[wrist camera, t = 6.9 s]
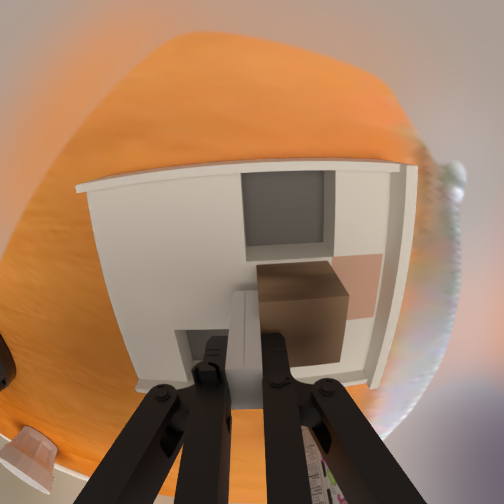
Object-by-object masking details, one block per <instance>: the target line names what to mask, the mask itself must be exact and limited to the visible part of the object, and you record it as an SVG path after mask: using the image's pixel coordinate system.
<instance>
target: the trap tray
mask: <svg viewBox="0 0 504 504" xmlns="http://www.w3.org/2000/svg"><path fill="white" fill-rule="evenodd" d="M417 178H418V166H415V165H410V164H405V163H399V162H393V161H387V160H380V159H359V158H274V159H252V160H235V161H221V162H210V163H199V164H189V165H180V166H171V167H163V168H156V169H149V170H142V171H135V172H129V173H123V174H117V175H111V176H105V177H102V178H98V179H95V180H91V181H88V182H85V183H81V184H78V185H75V187H76V193H81V192H86V193H87V200H88V206H89V212H90V217H91V223H92V228H93V233H94V238H95V243H96V247H97V251H98V256H99V260H100V264H101V268H102V272H103V276H104V280H105V283H106V287H107V290H108V294H109V297H110V301H111V304H112V307H113V310H114V314H115V317H116V320H117V323H118V326H119V329H120V332H121V335H122V337H123V340H124V343H125V346H126V348H127V351H128V354H129V356H130V359H131V361H132V364H133V366H134V369H135V371H136V374H137V376H138V382H137V384H136V387H135V390H136V392H139V393H148V392H149V390H150V389H151V388H152V387H154V386H156V385H159V384H169V385H172V386H174V388H175V389H176V390H177V389H182V388H186V387H189V386H191V385H193V384H195V383H194V379H193V376H192V372H191V370H192V368H193V366H194V365H196V364H197V363H199V362H201V361H203V358H204V353H205V347H206V342H207V341H208V340H209V339H210V337H211V336H228V335H229V325H230V315H231V305H232V296H233V291H250V290H258V287H257V268H256V265H260V264H278V263H295V262H312V261H328V262H329V263H330V265H331V267H332V268H333V270H334V271H335V273H336V274H337V276H338V278H339V279H340V281H341V282H342V284H343V286H344V287H345V289H346V291H347V292H348V294H349V295H350V296H349V304H348V312H347V320H346V327H345V333H344V340H343V346H342V352H341V358H340V362H338V363H330V364H322V365H313V366H303V367H292V368H290V372H291V375H292V376H293V377H294V378H295V379H296V380H297V381H300V382H302V383H307V384H314V383H315V382H316V381H317V380H320V379H322V378H333V379H335V380H338V381H339V382H340V383H341V384H342V385H343V386H344V387H346V386H352V385H358V384H364V383H367V385H368V387H369V390H370V389H375V388H378V387H379V384H380V381H381V378H382V375H383V372H384V369H385V366H386V362H387V359H388V356H389V352H390V349H391V345H392V341H393V338H394V334H395V330H396V326H397V322H398V318H399V313H400V309H401V304H402V300H403V295H404V290H405V284H406V279H407V273H408V267H409V261H410V254H411V247H412V239H413V231H414V221H415V210H416V197H417Z"/></svg>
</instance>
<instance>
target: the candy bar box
mask: <svg viewBox="0 0 504 504" xmlns="http://www.w3.org/2000/svg"><path fill="white" fill-rule="evenodd" d="M301 428H302V435H303V441H304V448H305V454H306V461H307V468H308V475H309V482H310V489H311V496H312V503H313V504H348V503H347V501H346V499H345V498H344V496H343V494H342V492H341V490H340V488H339V487H338V485H337V483H336V481H335V479H334V477H333V475H332V474H331V472H330V470H329V468H328V466H327V464H326V462H325V460H324V459H323V457H322V455H321V453H320V451H319V449H318V447H317V445H316V443H315V441H314V439H313V437H312V436H311V434H310V432H309V430H308V427H305V426H301Z"/></svg>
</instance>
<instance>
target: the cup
mask: <svg viewBox="0 0 504 504" xmlns="http://www.w3.org/2000/svg"><path fill="white" fill-rule="evenodd" d="M57 451H58V449H57V447H56V445H55V444H54V443H53V442H52V441H51V440H49V439H48V438H47V437H46V436H45V435H43V434H42V433H40V432H39V431H37V430H35V429H34V428H32V427H29V426H24V427H23V429H22V430H21V431H20V432H19V433H18V435H17V436H16V437H15V438H14V439H13V440H12V441H11V442H10V443H8V444H6V445H5V446H4V447H3V448H2V450H1V451H0V462H1V463H2V464H3V465H4V466H5V467H6V468H7V469H8V470H10V471H11V472H12V473H13V474H15V475H16V476H17V477H19V478H20V479H22V480H23V481H25V482H26V483H28V484H29V485H31V486H32V487H34V488H36V489H38V490H40V491H42V492H44V493H46V494H50V493H51V488H52V483H53V478H54V477H53V467H54V462H55V457H56V454H57Z"/></svg>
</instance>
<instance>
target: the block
mask: <svg viewBox="0 0 504 504" xmlns="http://www.w3.org/2000/svg"><path fill="white" fill-rule="evenodd" d="M256 268H257V287H258V304H259V319H260V334H264V333H281V334H282V336H283V337H284V338H285V342H286V348H287V353H288V360H289V366H290V368H292V367H303V366H313V365H322V364H330V363H338V362H340V358H341V352H342V346H343V340H344V333H345V327H346V320H347V312H348V304H349V296H350V295H349V294H348V292H347V291H346V289H345V287H344V286H343V284H342V282H341V281H340V279H339V278H338V276H337V274H336V273H335V271H334V270H333V268H332V267H331V265H330V263H329V262H328V261H312V262H295V263H278V264H260V265H256Z"/></svg>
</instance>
